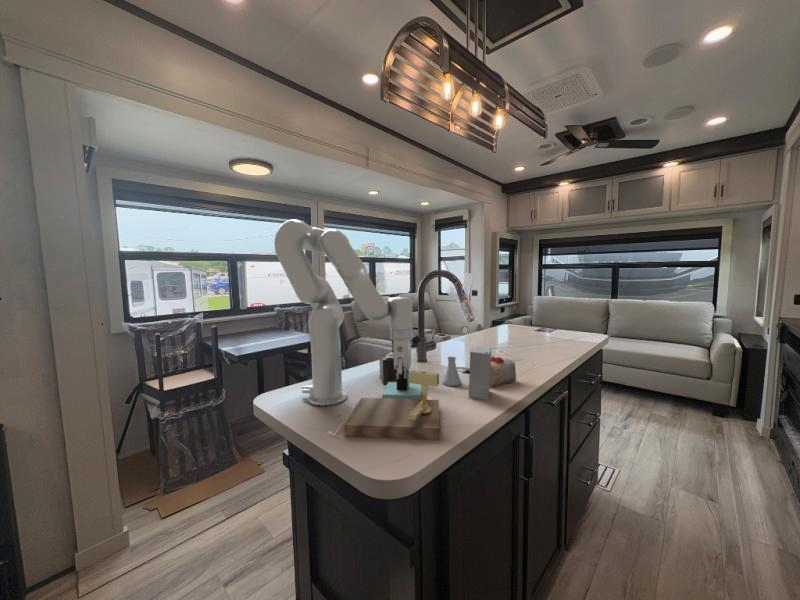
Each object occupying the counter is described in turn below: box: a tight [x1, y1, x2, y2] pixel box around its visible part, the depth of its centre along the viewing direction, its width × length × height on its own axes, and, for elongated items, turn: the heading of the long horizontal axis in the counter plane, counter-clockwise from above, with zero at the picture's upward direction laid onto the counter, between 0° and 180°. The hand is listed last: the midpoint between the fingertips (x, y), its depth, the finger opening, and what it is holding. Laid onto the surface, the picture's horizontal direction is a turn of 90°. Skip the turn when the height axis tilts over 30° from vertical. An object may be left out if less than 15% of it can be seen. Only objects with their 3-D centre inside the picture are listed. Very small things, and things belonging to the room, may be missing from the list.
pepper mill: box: [379, 334, 422, 385], centre depth 123 cm, size 16×11×18 cm
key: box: [408, 369, 440, 420], centre depth 82 cm, size 11×8×11 cm
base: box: [343, 397, 440, 441], centre depth 87 cm, size 24×18×3 cm
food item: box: [490, 355, 517, 388], centre depth 117 cm, size 14×8×10 cm, turn 117°
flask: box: [441, 356, 462, 387], centre depth 117 cm, size 7×7×10 cm
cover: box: [381, 371, 421, 399], centre depth 104 cm, size 12×12×6 cm
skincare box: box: [468, 345, 492, 400], centre depth 105 cm, size 8×7×16 cm
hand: (402, 387), depth 104 cm, fingers closed on cover, 3 cm apart
